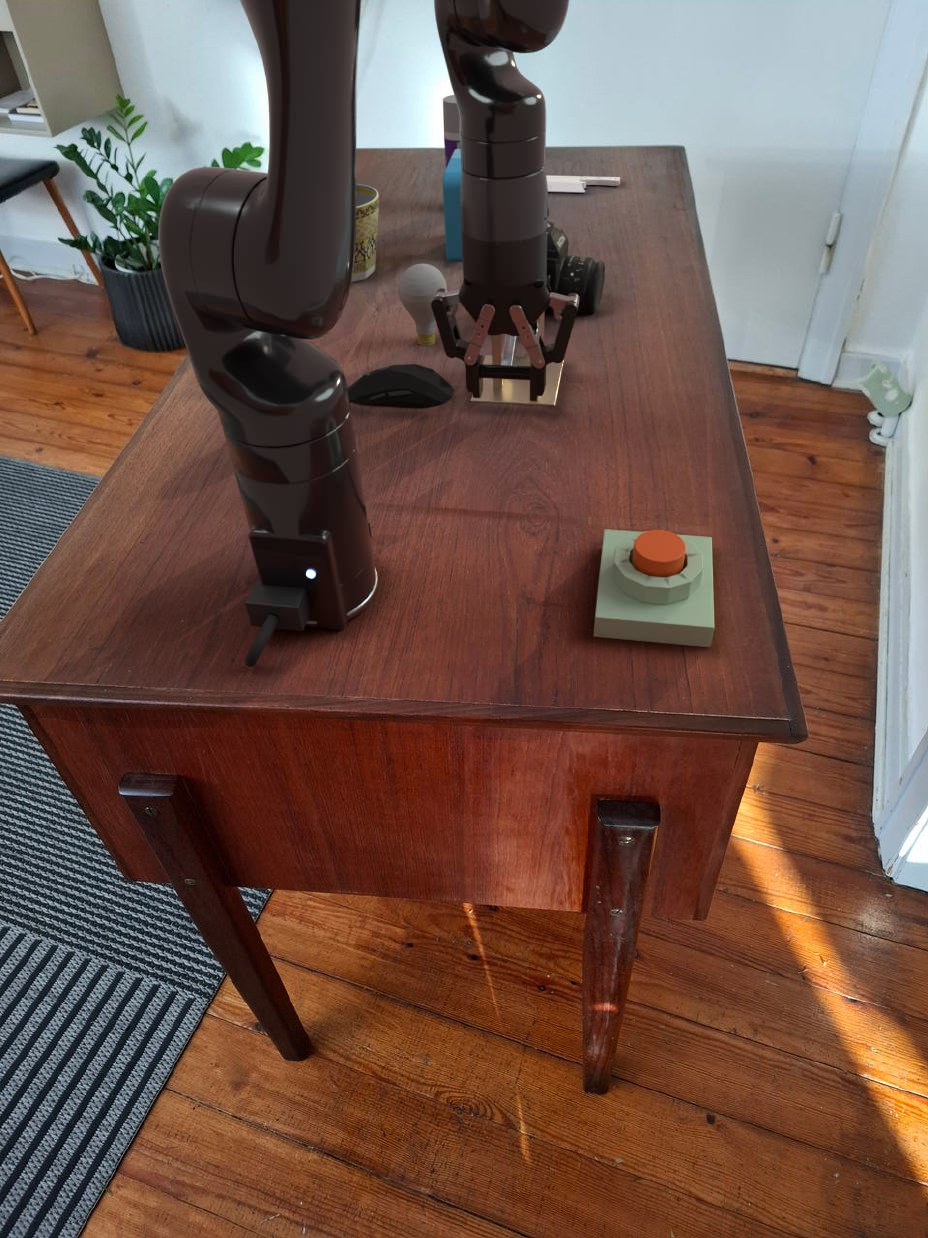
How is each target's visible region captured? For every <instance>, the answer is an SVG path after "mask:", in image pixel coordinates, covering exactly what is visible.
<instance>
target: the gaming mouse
mask: <svg viewBox="0 0 928 1238" xmlns="http://www.w3.org/2000/svg"><path fill="white" fill-rule="evenodd" d="M347 387H348V393H349V400H350V403H352V404H356V405H359V406H368V407H381V408H382V407H383V408H400V409H429V408H434V407H439V406H441V405H445V404H446V403H448V401H450V400H452V399H453V397H454V393H455V388H454V387H453V386H452V385H451V384H450V383H449V382H448V381H447V380H446V379H444V377H442V376H441V375H440V374H439V373H437V371H436V370H434V369H433V368H432V367H431V368H430V367H427V366H423V365H421V364H418V363H408V364H407V363H405V364H393V365H392V364H391V365H389V366H384V367H382V368H381V367H380V368H378V369H374V370H372V371H370V372H364V373H363V374H362V375H361V377H360V378H359V379H357V380H356V381H355V382H354V383H352V384H351V385H350V386H347Z"/></svg>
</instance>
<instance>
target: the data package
mask: <svg viewBox="0 0 928 1238" xmlns="http://www.w3.org/2000/svg"><path fill="white" fill-rule="evenodd" d="M461 168H462V166H461V149H455V150H454V152H453V154H452V157H451V159H450V161H449V163H448V165H447V167H446V166H445V169H444V171H443V175H442V201H443V219H444V231H445V232H444V235H445V249H446V250H445V252H446V253H445V254H446V261H447V262H463V256H462V235H461V213H460V186H461Z"/></svg>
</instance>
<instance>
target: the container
mask: <svg viewBox="0 0 928 1238" xmlns="http://www.w3.org/2000/svg"><path fill="white" fill-rule="evenodd" d="M442 115H443V116H442V117H443V118H442V119H443V144H444V145H443V146H444V161H445V162H444V163H445V168H446V167H447V165H448V163H449V161H450V159H451V157H452V154H453V152H454V150H455V149H461V147H460V114H459V109H458V105H457V102H456V99H455V96H454V94H451V95H450V94H449V95H446V96H444V97H443V98H442Z"/></svg>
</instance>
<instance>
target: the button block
mask: <svg viewBox="0 0 928 1238" xmlns="http://www.w3.org/2000/svg"><path fill="white" fill-rule="evenodd" d="M647 531H648V530H646V531H635V530H622V529H621V530H620V529H609V528H608V529H606V528H605V529H604V530H603V538H602V547H601V555H600V556H601V558H600V564H599V565H600V567H599V576H598V586H597V593H596V604H595V613H594V622H593V623H594V624H593V637H595V638H602V639H603V638H604V639H605V638H606V639H613V640H614V639H616V640H626V641H638V642H646V643H647V642H649V643H657V644H669V645H681V646H690V647H700V648H702V647H703V648H711V645H712V641H713V636H714V631H715V603H714V598H715V597H714V567H713V538H712V536H702V535H687V534H677V535H678V536H679V537H681V538H682V539H683V541H684V543H685V545H686V552H685V558H684V564H683V568H682V570H681V571H680V572H679V573H678V574H676V575H674V576H670V577H667V578H664V577H651V576H648V575H646V574H643V573H641V572H639V571H638V570H637V569H636V568H635V567H634V565H633V560H632V559H633V550H634V542H635V540H636V538H637V537H638V536H639V535H640V534H642V533H644V532H647Z"/></svg>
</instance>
